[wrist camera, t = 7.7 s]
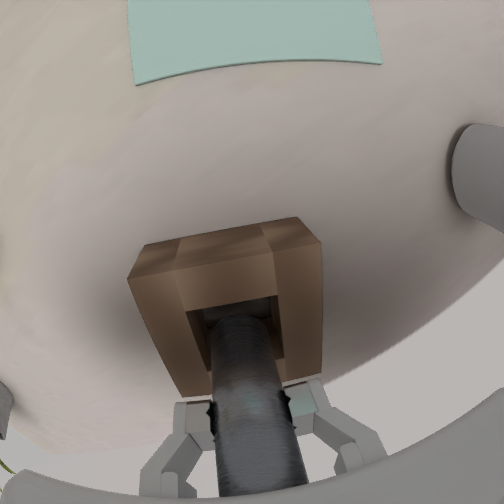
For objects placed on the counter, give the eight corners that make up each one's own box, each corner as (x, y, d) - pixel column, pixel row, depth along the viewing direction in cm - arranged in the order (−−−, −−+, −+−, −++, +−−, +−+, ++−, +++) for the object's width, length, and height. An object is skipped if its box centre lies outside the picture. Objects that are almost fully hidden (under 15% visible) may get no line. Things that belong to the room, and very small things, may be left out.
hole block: (297, 216, 16) (321, 243, 12) (304, 333, 20) (321, 372, 16) (144, 245, 15) (126, 279, 12) (185, 355, 19) (182, 397, 16)
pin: (263, 309, 14) (322, 512, 5) (270, 350, 15) (316, 522, 6) (204, 320, 13) (211, 528, 4) (217, 360, 15) (233, 535, 6)
